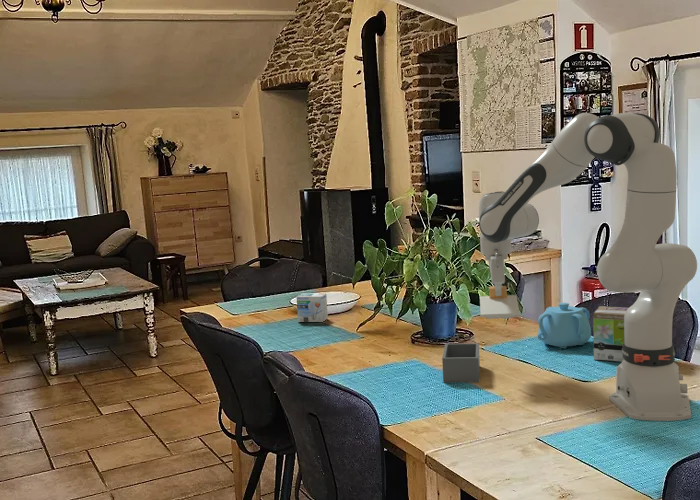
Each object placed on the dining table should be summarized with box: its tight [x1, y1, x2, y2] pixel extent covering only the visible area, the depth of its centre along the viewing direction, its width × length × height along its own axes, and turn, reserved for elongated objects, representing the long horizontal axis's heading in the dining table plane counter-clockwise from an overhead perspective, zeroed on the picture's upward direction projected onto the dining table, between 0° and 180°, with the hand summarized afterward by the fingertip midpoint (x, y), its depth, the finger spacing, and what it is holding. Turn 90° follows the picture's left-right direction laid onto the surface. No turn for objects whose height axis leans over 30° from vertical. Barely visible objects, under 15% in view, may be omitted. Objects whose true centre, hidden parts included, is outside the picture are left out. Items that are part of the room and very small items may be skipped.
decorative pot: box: [537, 302, 592, 349], centre depth 248 cm, size 16×16×14 cm
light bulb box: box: [296, 292, 329, 323], centre depth 305 cm, size 11×7×11 cm, turn 73°
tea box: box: [592, 305, 629, 363], centre depth 228 cm, size 15×10×15 cm
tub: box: [441, 342, 481, 384], centre depth 223 cm, size 16×10×7 cm, turn 170°
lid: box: [479, 285, 521, 320], centre depth 218 cm, size 17×11×5 cm, turn 171°
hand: (498, 294), depth 225 cm, fingers closed on lid, 2 cm apart
